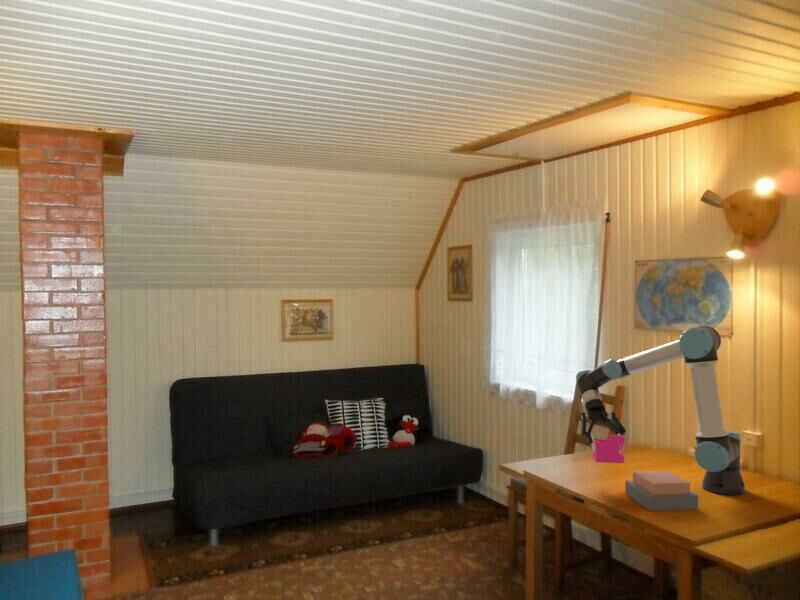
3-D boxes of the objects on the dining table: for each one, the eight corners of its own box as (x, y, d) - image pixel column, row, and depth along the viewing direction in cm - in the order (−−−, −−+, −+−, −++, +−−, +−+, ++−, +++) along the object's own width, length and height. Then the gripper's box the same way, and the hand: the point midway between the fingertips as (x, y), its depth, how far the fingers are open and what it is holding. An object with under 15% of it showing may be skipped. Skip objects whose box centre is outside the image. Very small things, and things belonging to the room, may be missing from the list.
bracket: (623, 463, 255) (624, 436, 255) (596, 462, 257) (596, 435, 257) (618, 455, 267) (619, 430, 267) (592, 454, 269) (592, 429, 269)
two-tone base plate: (669, 492, 257) (670, 469, 257) (698, 509, 237) (698, 484, 237) (625, 493, 255) (625, 470, 255) (649, 510, 235) (650, 485, 235)
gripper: (617, 408, 279) (634, 454, 264) (564, 409, 277) (578, 455, 261) (623, 397, 274) (640, 443, 258) (568, 398, 271) (583, 445, 256)
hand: (609, 449), depth 260 cm, fingers closed on bracket, 10 cm apart
